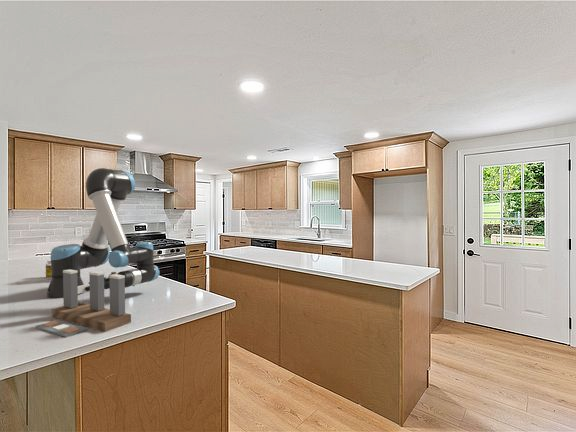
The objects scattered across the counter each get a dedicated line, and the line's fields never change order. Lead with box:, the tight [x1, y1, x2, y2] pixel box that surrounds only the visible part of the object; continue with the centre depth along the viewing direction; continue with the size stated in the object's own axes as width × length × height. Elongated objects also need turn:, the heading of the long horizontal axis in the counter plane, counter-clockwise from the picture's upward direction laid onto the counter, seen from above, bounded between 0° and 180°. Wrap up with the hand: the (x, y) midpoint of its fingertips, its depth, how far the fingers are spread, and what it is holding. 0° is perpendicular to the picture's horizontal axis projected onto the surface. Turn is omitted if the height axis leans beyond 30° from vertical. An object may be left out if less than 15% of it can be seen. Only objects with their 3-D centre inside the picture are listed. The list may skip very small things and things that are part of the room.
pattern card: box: [35, 319, 88, 338], centre depth 113 cm, size 18×7×1 cm, turn 63°
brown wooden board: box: [51, 301, 132, 333], centre depth 123 cm, size 32×10×3 cm, turn 63°
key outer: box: [108, 273, 126, 316], centre depth 119 cm, size 3×5×14 cm, turn 63°
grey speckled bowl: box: [106, 271, 118, 278], centre depth 188 cm, size 12×12×5 cm
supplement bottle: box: [45, 259, 51, 279], centre depth 192 cm, size 6×6×10 cm
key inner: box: [62, 269, 79, 308], centre depth 127 cm, size 3×5×14 cm, turn 63°
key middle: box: [88, 270, 105, 311], centre depth 125 cm, size 3×5×14 cm, turn 63°
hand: (75, 290), depth 128 cm, fingers closed
